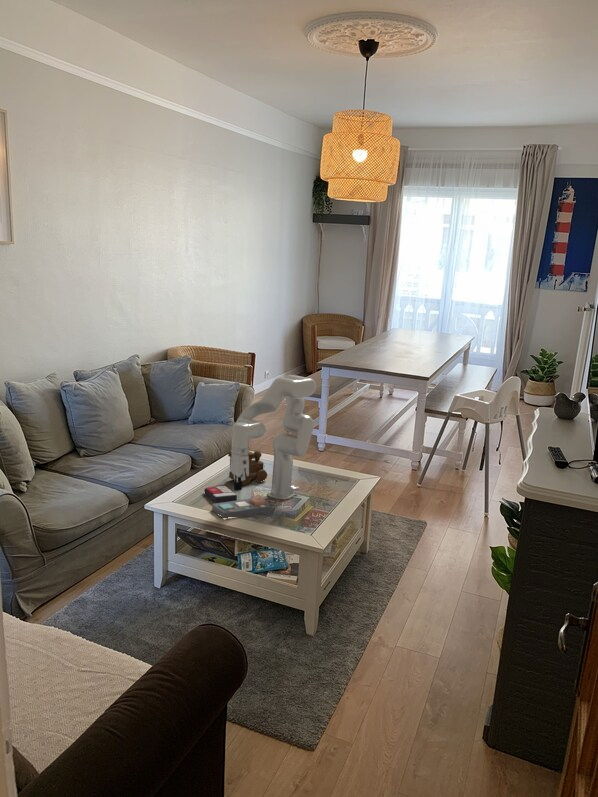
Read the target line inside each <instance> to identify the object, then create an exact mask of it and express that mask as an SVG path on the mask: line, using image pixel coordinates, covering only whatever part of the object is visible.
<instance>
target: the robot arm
mask: <svg viewBox="0 0 598 797" xmlns="http://www.w3.org/2000/svg"><path fill="white" fill-rule="evenodd" d="M316 389H317V383H316V381H315V380H314V379H313V378H309V377H304V376H301V375H300V376H299V375H296V374H287V375H286V376H285V377H276V378H275V379H274V380H273V381H272V383H271V385H270V386H269V387H268V389H267V390H266V392H265V393H264V394H263V396H262V397H261V399H259V400H257V401H256V402H253V403H252V404H250V405H248V406H247V407H246V408H244V409H243V411H242V412H241V413H240V414H239V416H238V418H237V420H236V421H235V423H233V426H232V433H231V435H232V436H231V438H232V439H231V450H232V451H231V450H230V451H231V454H232V455H231V464H230V463H229V472H230V471H231V472H232V474H233V475H234V480H233V490H234V491H236V492H237V491H242V490H243V485H242V482H243V481H244V480H245V476H247V477H248V476H249V457H248V451H250V450H249V448H250V447H249V446H250V439H259V438H262V437H263V436H264V435H265V433H266V425H265V424H264V423H262V422H261V421H258V420H254V418H257V417H258V416H260V415H263V414H270V413H272V412H273V413H274V412H275V411H277V410H278V408H279V407H280V405H281V404H282V402H283V401H284V399H285V397H287V403H286V404H287V405H286V407H285V410H284V413H283V414H284V415H283V417H282V421H281V422H282V424H281V426H282V428H283V429H284V430H286V431H289V432H292V433H296V434H297V435H295V434H291V433H288V432H278V433H277V434H275V435H274V437H273V441H272V442H273V443H272V444H273V467H272V480H271V489H269V490H268V492H267V495H268V496H269V497H270V498H272V499H275V500H290V499H293V498H294V491H295V492H296V491H300V487H299V486H295V485H292V480H293V479H292V478H293V468H294V459H293V456H294V457H297V458H298V457H303V456H305V455H306V453H307V451H308V448H309V446H310V441H311V439H312V435H313V431H314V425H315V424H314V423H315V422H314V420H313V418H312V417H311V416H310V415H307V414H303V413H304V410H305V405H306V403H305V402H306V401H305V398H307V397H311V396H312V395H313V394H314V393H315V392H316Z"/></svg>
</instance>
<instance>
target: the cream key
mask: <svg viewBox="0 0 598 797" xmlns="http://www.w3.org/2000/svg"><path fill="white" fill-rule="evenodd" d="M235 505H236V506H237V507H238V508H245V507H250V505H249V504H248V503H246V502H245V501H243V502H236V503H235Z"/></svg>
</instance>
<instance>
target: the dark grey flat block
mask: <svg viewBox="0 0 598 797" xmlns="http://www.w3.org/2000/svg"><path fill="white" fill-rule="evenodd" d="M250 499H251V498H246V499H237V501H230V502H223V503H215V504H214V503H212V504H211V505H212V506H211V510H212V512H214V513H215V514H216V513H217V514H219V515H221V516H222V517H223V518H228V517H238V518H245V517H250V516H251V517H252V516H257V515H263V514H271V513H272V507H273V506H272V505H270V504H269V503H267V502H266V501H265V505H258V506H254V505H253V504H252V503H250ZM243 501H245V502H246V503H248V504H249V505H250V507H245V508H238V507H237V506H236V505H235V503H236V502H243ZM222 504H230V505H232V506H233V507H234V509H231V510H224V511H223V510H222V509H221V508H219V505H222ZM217 514H216V515H217ZM219 515H218V516H219ZM238 518H237V519H238Z"/></svg>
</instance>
